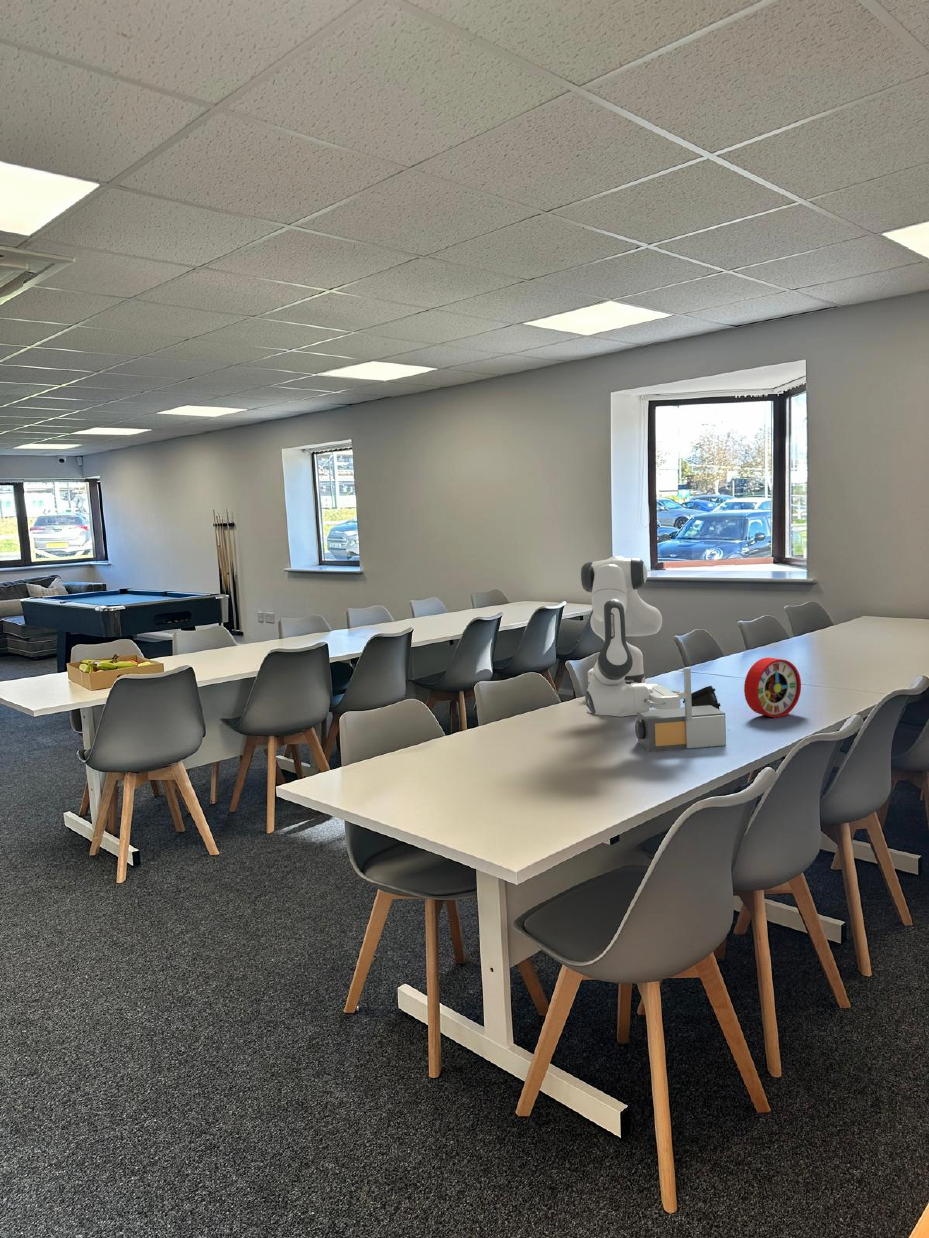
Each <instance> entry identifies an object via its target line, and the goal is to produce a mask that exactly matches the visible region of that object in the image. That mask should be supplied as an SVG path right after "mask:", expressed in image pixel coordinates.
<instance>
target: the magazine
mask: <svg viewBox="0 0 929 1238" xmlns="http://www.w3.org/2000/svg"><path fill="white" fill-rule="evenodd" d="M715 691H716V688H713V686H712V685H708V686H704V687H703V688H701V689H698V690H696V691H694V692H691V702H692V707H693V706H706V705H711V706H713V707H715V708H717V709H719V710H720V711H721V709H720V707H721V706H722V705H721V703H719V702H718V699H717V698H718V697H717V695H716V693H715ZM682 703H683V704H685V699H683V700H682Z"/></svg>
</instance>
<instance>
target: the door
mask: <svg viewBox="0 0 929 1238" xmlns="http://www.w3.org/2000/svg"><path fill="white" fill-rule="evenodd" d="M691 676H692V675H691V667H683V688H684V689H683V690H684V692H685V693H687V698H685V703H684V707H685V722H686V749H695V748H697V747H698V748H708V747H709V746H710V747H718V746H719V747H720V746H721V745H722V746H727V737H726V738H725V725H726V714H725V715H716V716H704V717H692V702H691V693H692V678H691Z"/></svg>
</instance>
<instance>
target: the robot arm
mask: <svg viewBox="0 0 929 1238" xmlns="http://www.w3.org/2000/svg"><path fill="white" fill-rule="evenodd" d="M579 573H580V574H579V581H580V584H581V587H582V589H583V590H584V591H585V592H587V593H591V608H592V613H591V616H590V620H589V622H590V627H591V629H592V631H593V633H594V634H595V635H597V636H598V637H599V638H601V640H603V646H602V647H601V650H600V652H599V654H598V657H597V659H596V661H595V664H594V666H593V667H592V668H593V671H592V677H591V681H590V684H589V687H587V689H586V690H585V693H584V699H585V704H586V706H587V713H590V714H594V715H596V716H597V715H599V716H612V717H618V718H620V717H629V716H637V713H644V712H648V711H649V710H650V709H652V708H654V710H655V709H676V708H681V700H684V699H685V698H687V693H685V692H684V691H683V690H670V689H668V688H666V687H665V686H663V685H661V684H656V683H646V675H645V672H644V657H643V656H644V655H643V652H642V650H640V648H638V647H636V646H635V645H632V644H630V643H629V642H628V641H627V637H647V636H651V635H655V634H658V632H659V631H660V630H661V628H662V625H663V617H662V613H661V612H660V609H658V608H657V607H655V606H652V605H650V604H649V603H647V602H646V601H645V600H644V599H642V598H641V596H640V595H639V593H638V590H639V589H642V588H643V587H644V586H645V585H646V581H647V579H648V569H647V566H646V564H645V561H643V560H642V559H641V558H637V557H631V558H627V557H626V558H625V557H623V556H620V555H614V556H611V557H609V558H607V559H602V560H597V561H594V560H592V561H588V562H585V563H584V564H583V565H582V566H581V570H580V572H579Z"/></svg>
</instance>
